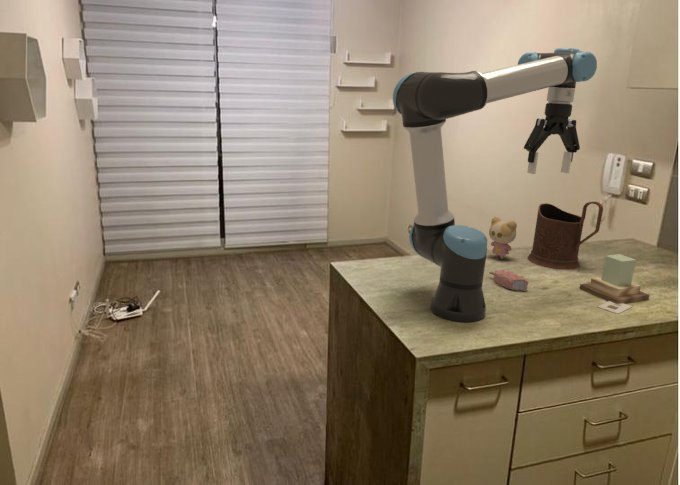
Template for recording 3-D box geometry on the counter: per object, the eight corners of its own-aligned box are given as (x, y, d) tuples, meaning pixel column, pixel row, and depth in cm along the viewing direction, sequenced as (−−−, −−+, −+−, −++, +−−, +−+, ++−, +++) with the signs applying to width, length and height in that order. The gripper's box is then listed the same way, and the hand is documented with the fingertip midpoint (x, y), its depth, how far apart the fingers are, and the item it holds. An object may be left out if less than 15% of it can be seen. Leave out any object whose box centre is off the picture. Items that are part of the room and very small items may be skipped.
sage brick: (617, 286, 165) (622, 261, 163) (601, 279, 171) (605, 255, 168) (631, 284, 168) (636, 259, 166) (614, 277, 173) (619, 254, 171)
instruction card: (618, 314, 155) (618, 312, 155) (597, 307, 159) (597, 305, 159) (631, 307, 160) (632, 305, 160) (611, 300, 165) (611, 299, 165)
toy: (481, 256, 202) (486, 217, 198) (494, 252, 208) (499, 214, 204) (504, 263, 195) (509, 223, 191) (517, 259, 201) (522, 220, 196)
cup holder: (547, 251, 213) (557, 188, 206) (604, 269, 194) (617, 201, 187) (516, 257, 203) (525, 192, 196) (574, 277, 184) (587, 205, 177)
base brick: (616, 305, 161) (619, 292, 160) (579, 288, 174) (581, 276, 172) (648, 299, 167) (651, 287, 166) (610, 283, 179) (612, 272, 178)
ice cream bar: (497, 265, 181) (533, 278, 169) (496, 277, 182) (531, 291, 170) (484, 267, 178) (519, 281, 166) (482, 279, 179) (517, 294, 167)
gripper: (536, 102, 155) (525, 175, 160) (599, 104, 164) (587, 174, 170) (518, 100, 161) (508, 171, 167) (580, 103, 171) (569, 170, 177)
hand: (548, 173), depth 169 cm, fingers open, 13 cm apart
